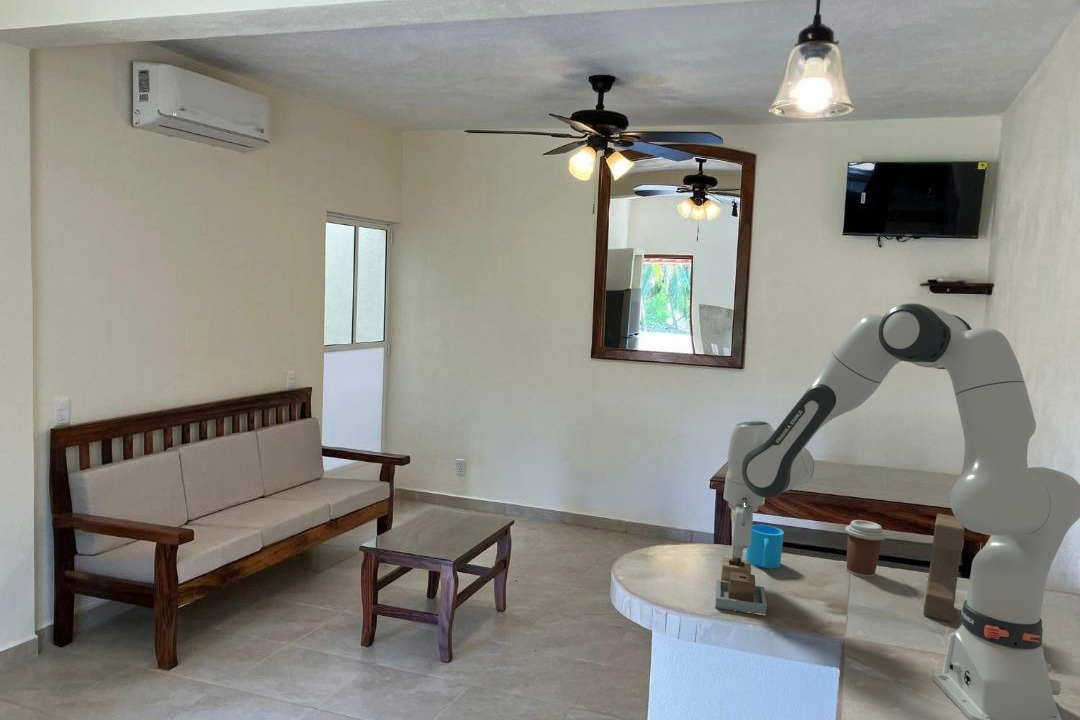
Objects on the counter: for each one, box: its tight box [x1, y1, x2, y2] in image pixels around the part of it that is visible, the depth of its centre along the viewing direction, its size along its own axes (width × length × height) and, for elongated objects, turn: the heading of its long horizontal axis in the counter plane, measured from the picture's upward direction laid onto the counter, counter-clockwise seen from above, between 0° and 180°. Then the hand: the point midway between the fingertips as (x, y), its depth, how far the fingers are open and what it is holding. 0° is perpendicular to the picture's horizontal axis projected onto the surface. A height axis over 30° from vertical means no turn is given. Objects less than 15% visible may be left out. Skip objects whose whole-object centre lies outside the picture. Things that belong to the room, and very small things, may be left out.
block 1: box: [720, 556, 752, 581], centre depth 183 cm, size 6×6×5 cm
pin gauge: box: [731, 545, 743, 566], centre depth 182 cm, size 2×2×9 cm
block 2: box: [728, 572, 756, 602], centre depth 173 cm, size 5×5×5 cm
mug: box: [745, 524, 785, 569], centre depth 198 cm, size 12×8×8 cm
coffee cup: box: [844, 519, 887, 578], centre depth 198 cm, size 9×9×12 cm
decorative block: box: [922, 513, 965, 623], centre depth 176 cm, size 11×6×20 cm, turn 151°
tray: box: [714, 579, 768, 615], centre depth 173 cm, size 11×10×2 cm
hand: (737, 554), depth 182 cm, fingers closed on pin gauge, 2 cm apart
